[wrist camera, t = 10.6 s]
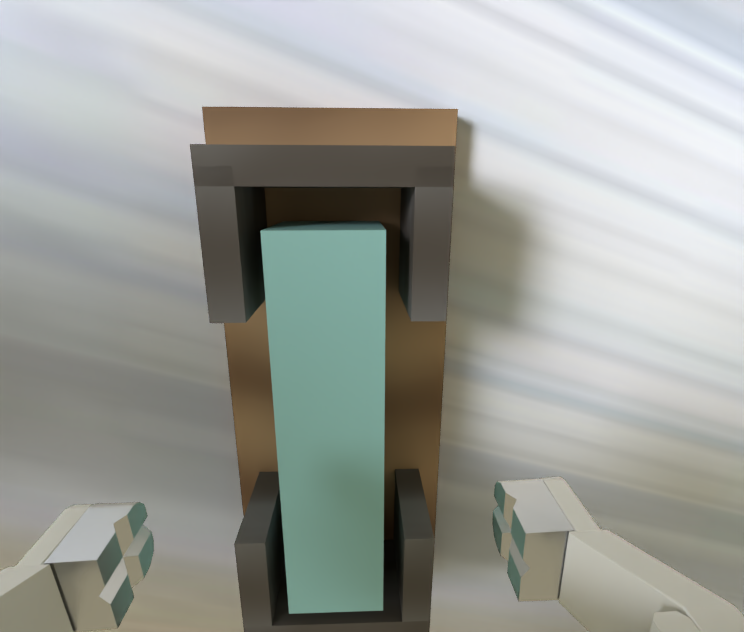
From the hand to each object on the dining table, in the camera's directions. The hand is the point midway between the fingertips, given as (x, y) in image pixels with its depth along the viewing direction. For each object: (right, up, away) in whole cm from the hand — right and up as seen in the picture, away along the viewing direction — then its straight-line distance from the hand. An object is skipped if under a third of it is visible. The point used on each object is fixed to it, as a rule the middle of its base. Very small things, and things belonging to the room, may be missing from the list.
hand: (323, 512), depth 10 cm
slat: (-1, +1, +10) cm, 10 cm away
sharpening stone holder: (-1, +2, +11) cm, 11 cm away
